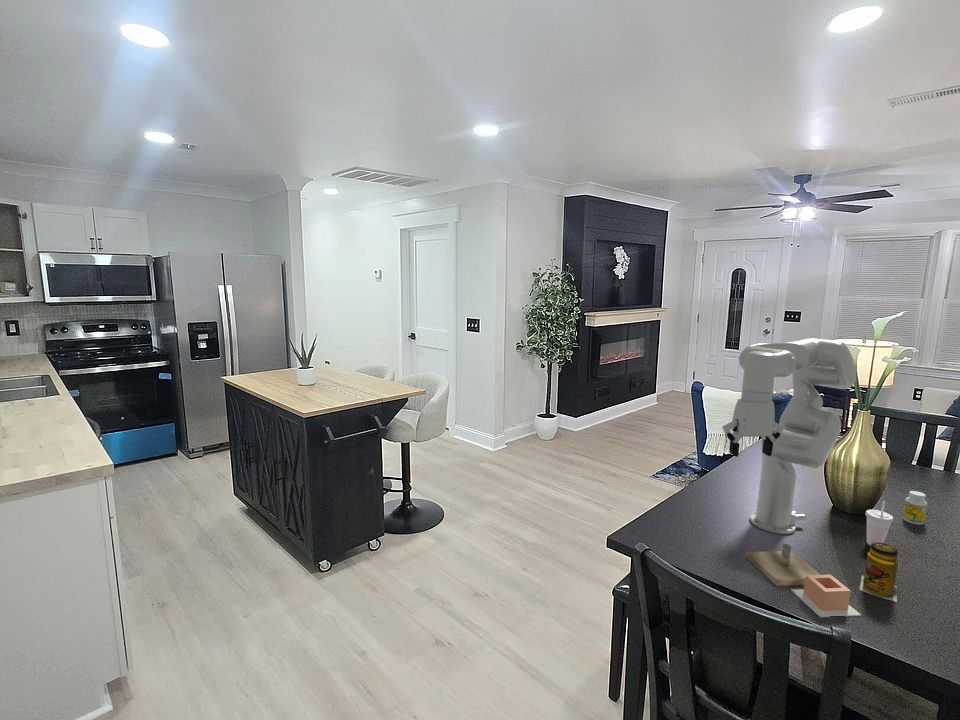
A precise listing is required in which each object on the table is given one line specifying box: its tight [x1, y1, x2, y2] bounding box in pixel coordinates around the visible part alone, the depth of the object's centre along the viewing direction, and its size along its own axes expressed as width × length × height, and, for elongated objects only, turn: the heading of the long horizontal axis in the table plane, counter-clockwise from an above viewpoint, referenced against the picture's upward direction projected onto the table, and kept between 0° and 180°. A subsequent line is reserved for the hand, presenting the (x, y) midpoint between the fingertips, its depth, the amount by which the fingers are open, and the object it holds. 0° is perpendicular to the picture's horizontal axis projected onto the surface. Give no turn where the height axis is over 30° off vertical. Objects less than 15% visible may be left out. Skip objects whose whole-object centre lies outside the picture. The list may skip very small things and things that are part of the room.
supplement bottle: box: [902, 490, 928, 526], centre depth 161 cm, size 5×5×10 cm
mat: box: [790, 588, 862, 618], centre depth 121 cm, size 10×10×1 cm
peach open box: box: [803, 574, 852, 611], centre depth 121 cm, size 6×6×5 cm
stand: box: [745, 543, 821, 587], centre depth 134 cm, size 13×13×7 cm
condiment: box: [859, 542, 899, 603], centre depth 126 cm, size 7×8×12 cm
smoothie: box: [865, 500, 894, 547], centre depth 146 cm, size 6×6×14 cm
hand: (750, 454), depth 141 cm, fingers open, 9 cm apart
